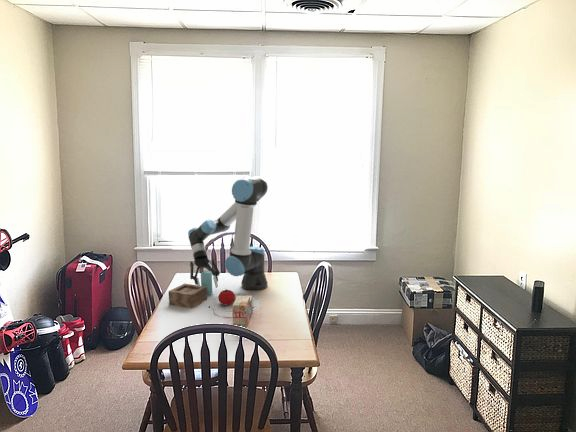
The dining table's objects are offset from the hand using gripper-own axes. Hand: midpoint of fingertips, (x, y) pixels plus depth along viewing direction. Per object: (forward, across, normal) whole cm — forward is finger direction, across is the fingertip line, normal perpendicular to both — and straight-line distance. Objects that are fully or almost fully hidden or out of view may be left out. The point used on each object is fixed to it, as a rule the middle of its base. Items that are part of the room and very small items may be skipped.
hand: (208, 288), depth 275 cm
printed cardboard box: (+34, -4, +28) cm, 44 cm away
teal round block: (+1, 0, -5) cm, 5 cm away
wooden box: (+7, +13, +2) cm, 15 cm away
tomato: (+16, -5, +10) cm, 19 cm away
